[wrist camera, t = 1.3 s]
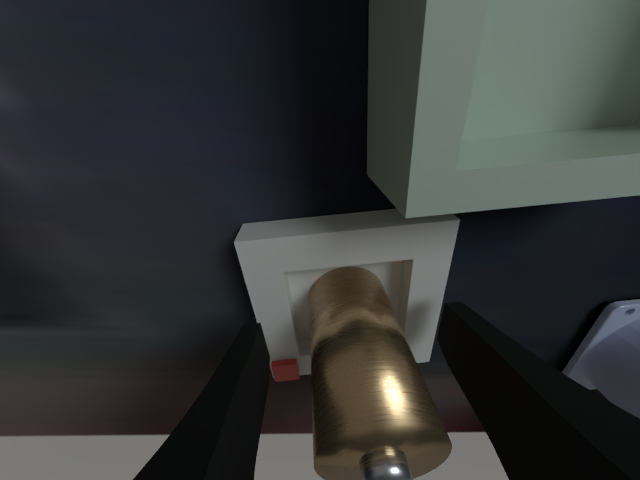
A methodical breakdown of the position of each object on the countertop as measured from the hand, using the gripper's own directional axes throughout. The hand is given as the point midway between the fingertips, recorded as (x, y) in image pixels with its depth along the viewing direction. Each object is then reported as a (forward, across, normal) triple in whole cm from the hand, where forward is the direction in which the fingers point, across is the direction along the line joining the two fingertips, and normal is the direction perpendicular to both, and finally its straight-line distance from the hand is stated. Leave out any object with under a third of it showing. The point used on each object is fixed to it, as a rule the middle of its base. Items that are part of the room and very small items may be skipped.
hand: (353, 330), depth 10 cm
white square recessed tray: (+2, 0, 0) cm, 2 cm away
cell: (+2, 0, 0) cm, 2 cm away
